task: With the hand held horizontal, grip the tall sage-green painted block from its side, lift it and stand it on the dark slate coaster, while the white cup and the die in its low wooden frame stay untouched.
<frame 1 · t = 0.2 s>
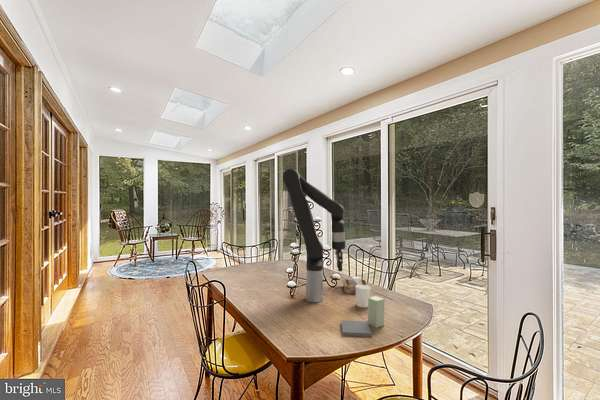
hand: (339, 269, 169), 18 cm above the table, tool pointing down, fingers open, 8 cm apart
white cup: (362, 305, 163), on the table
block: (375, 324, 139), on the table
coaster: (355, 329, 133), on the table
die: (355, 290, 189), on the table
die frame: (355, 289, 189), on the table
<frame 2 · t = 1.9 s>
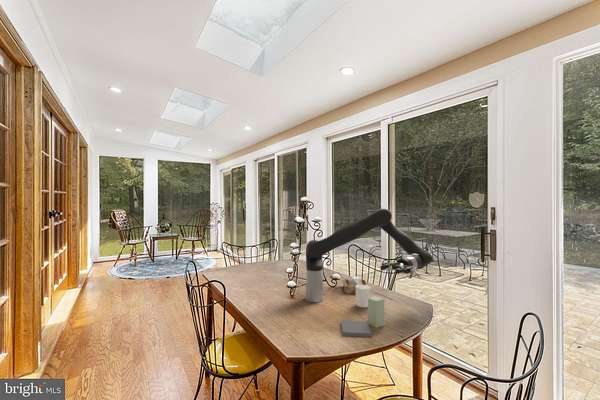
hand: (388, 269, 145), 23 cm above the table, tool horizontal, fingers open, 8 cm apart
nothing on the table moved.
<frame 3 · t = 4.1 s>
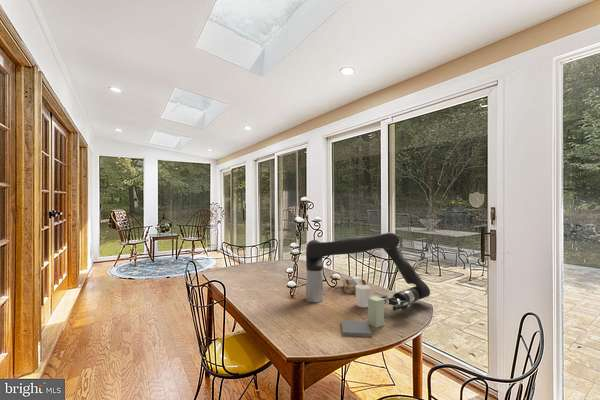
hand: (385, 306, 144), 6 cm above the table, tool horizontal, fingers open, 8 cm apart
nothing on the table moved.
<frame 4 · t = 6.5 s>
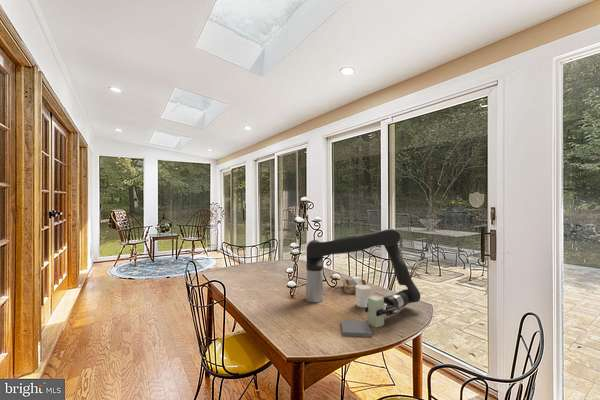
hand: (371, 311, 137), 7 cm above the table, tool horizontal, fingers closed on block, 5 cm apart
block: (375, 324, 139), on the table, touching gripper
everything else where it was.
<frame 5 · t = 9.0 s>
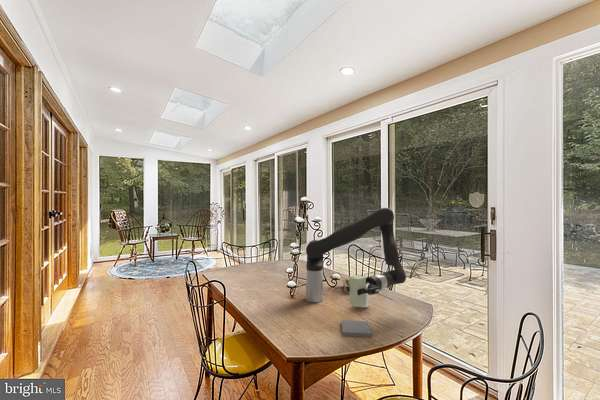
hand: (352, 291, 131), 18 cm above the table, tool horizontal, fingers closed on block, 5 cm apart
block: (357, 304, 134), point 11 cm above the table, touching gripper
everything else where it was.
when the fingers open (9 cm above the table, at t = 11.4 s): block drops 1 cm, resting on coaster.
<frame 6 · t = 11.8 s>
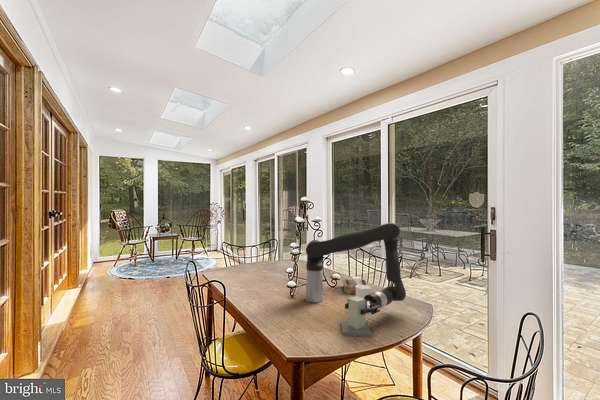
hand: (353, 309, 132), 10 cm above the table, tool horizontal, fingers open, 8 cm apart
block: (356, 325, 134), point 1 cm above the table, touching coaster
everything else where it was.
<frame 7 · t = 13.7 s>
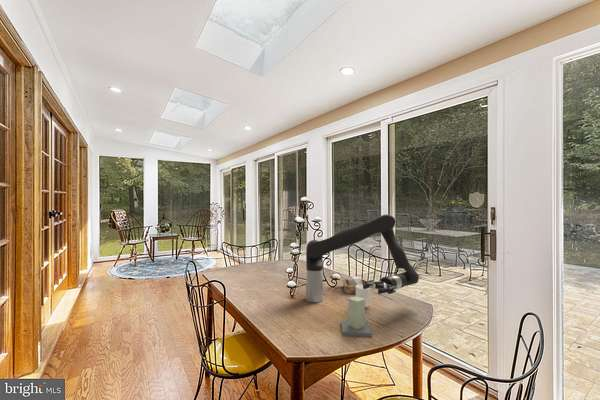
hand: (370, 289, 141), 15 cm above the table, tool horizontal, fingers open, 8 cm apart
nothing on the table moved.
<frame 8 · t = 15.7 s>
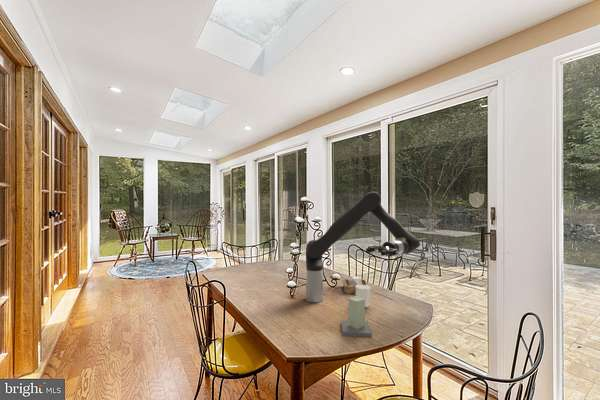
hand: (374, 252, 145), 32 cm above the table, tool horizontal, fingers open, 8 cm apart
nothing on the table moved.
at the end: block inside the target area on the coaster (0.9 cm from its centre), point 1.5 cm above the coaster's base; block tilted 0°; the gripper is holding nothing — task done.
